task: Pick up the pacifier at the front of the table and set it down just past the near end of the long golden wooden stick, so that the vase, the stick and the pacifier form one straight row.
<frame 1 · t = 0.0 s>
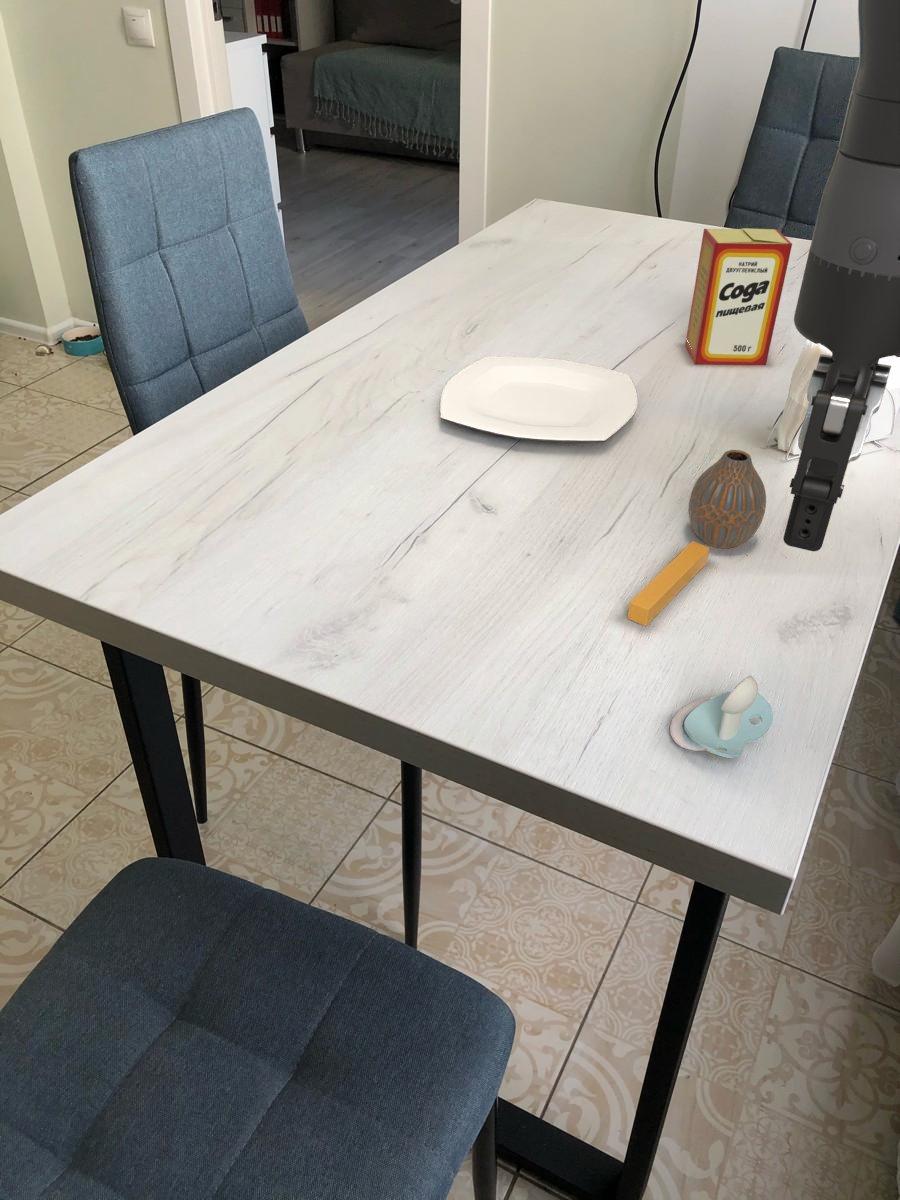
hand: (812, 512, 59), 18 cm above the table, tool pointing down, fingers open, 8 cm apart
baking soda box: (724, 356, 127), on the table
pacifier: (713, 736, 68), on the table
vase: (719, 539, 90), on the table
plate: (538, 411, 113), on the table
wooden stick: (668, 590, 83), on the table
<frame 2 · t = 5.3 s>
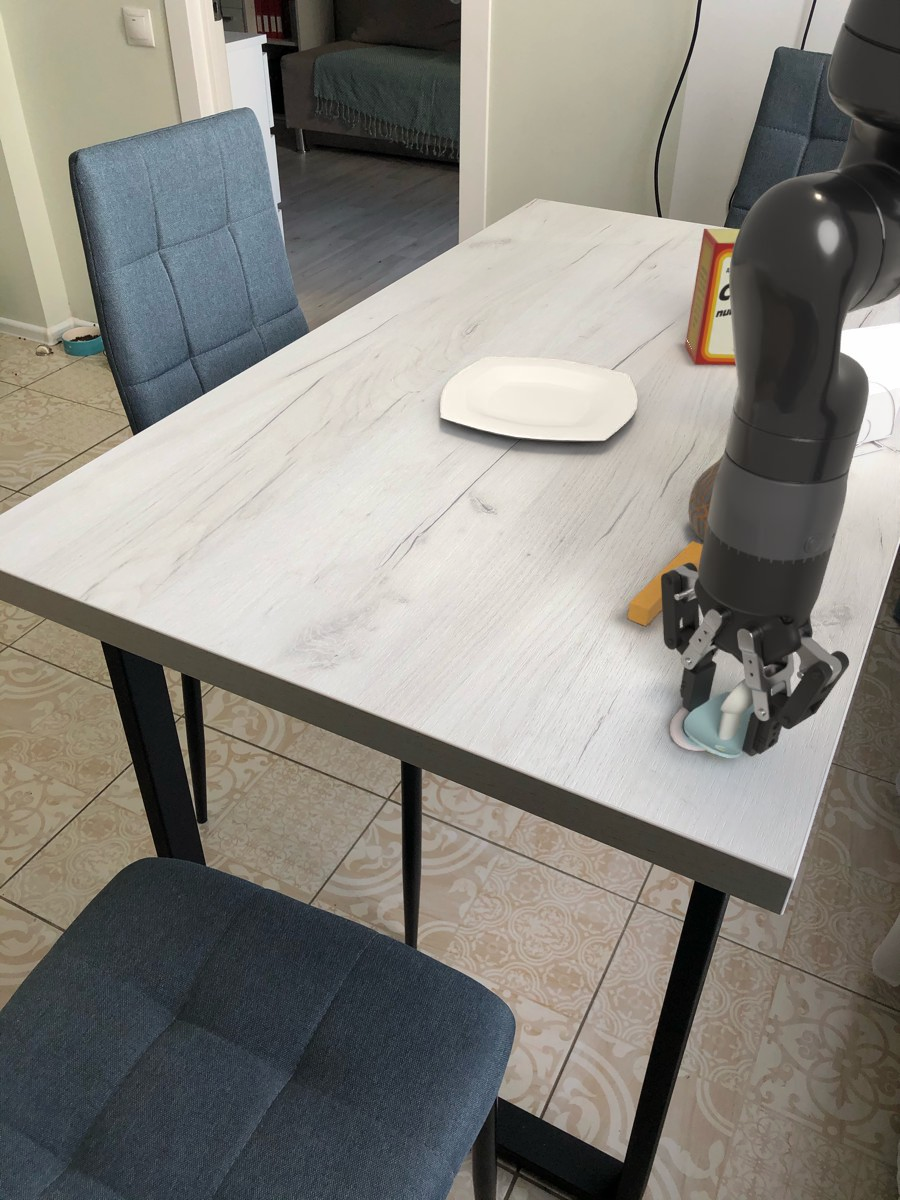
hand: (724, 725, 67), 1 cm above the table, tool pointing down, fingers closed on pacifier, 5 cm apart
pacifier: (713, 736, 68), on the table, touching gripper
everything else where it was.
when the fingers open (1 cm above the table, at t = 12.1 s): pacifier stays where it is, on the table.
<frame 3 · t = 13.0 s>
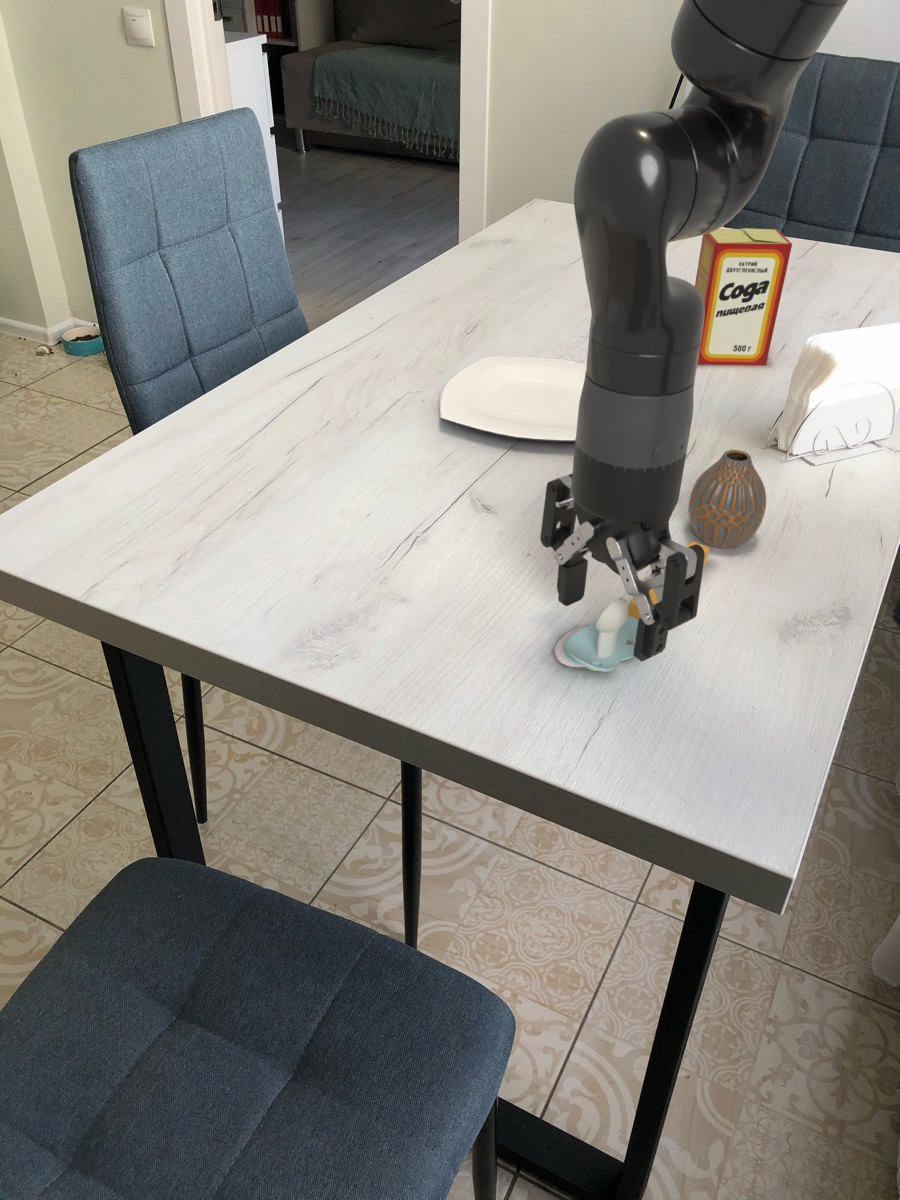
hand: (606, 627, 73), 3 cm above the table, tool pointing down, fingers open, 8 cm apart
pacifier: (595, 656, 76), on the table
everything else where it was.
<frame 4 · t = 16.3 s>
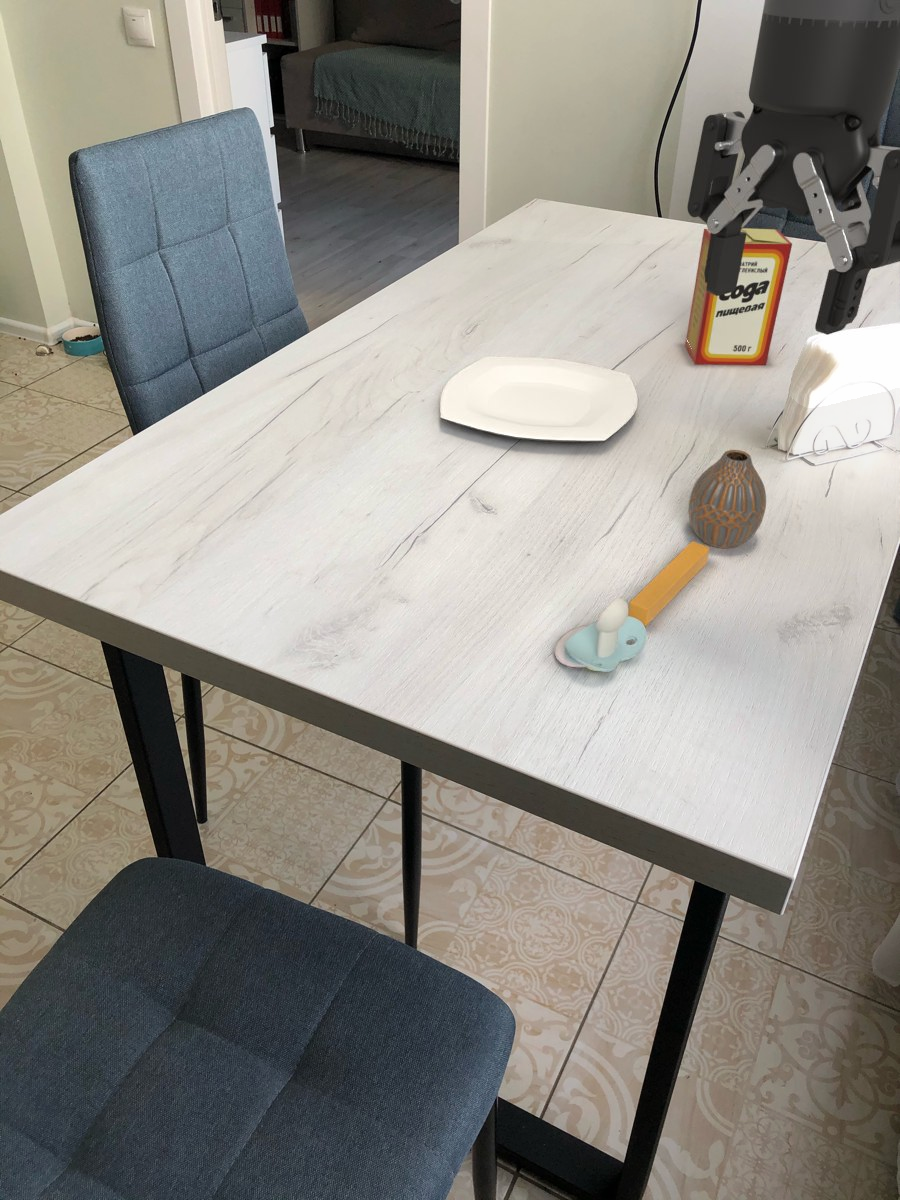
hand: (772, 310, 59), 28 cm above the table, tool pointing down, fingers open, 8 cm apart
nothing on the table moved.
at the end: pacifier 0.6 cm from the target spot on the table beside the vase, on the table; the gripper is holding nothing; vase moved 0.2 cm from its start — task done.
